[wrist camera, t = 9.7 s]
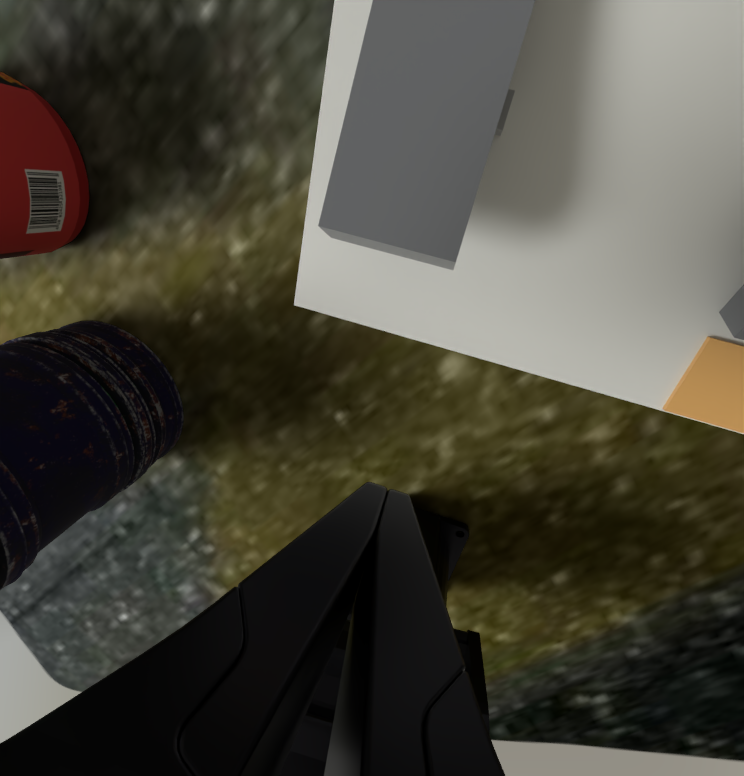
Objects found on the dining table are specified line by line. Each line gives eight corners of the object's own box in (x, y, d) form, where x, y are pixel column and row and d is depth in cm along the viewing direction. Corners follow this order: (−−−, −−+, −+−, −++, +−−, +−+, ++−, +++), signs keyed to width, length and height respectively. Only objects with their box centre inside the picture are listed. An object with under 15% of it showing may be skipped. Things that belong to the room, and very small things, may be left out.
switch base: (745, 411, 18) (816, 466, 14) (317, 291, 20) (282, 311, 16) (1123, -100, 11) (1466, -258, 7) (396, -205, 13) (364, -371, 9)
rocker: (453, 270, 13) (456, 261, 11) (331, 237, 13) (317, 225, 11) (553, -61, 11) (573, -126, 10) (411, -86, 12) (408, -152, 10)
